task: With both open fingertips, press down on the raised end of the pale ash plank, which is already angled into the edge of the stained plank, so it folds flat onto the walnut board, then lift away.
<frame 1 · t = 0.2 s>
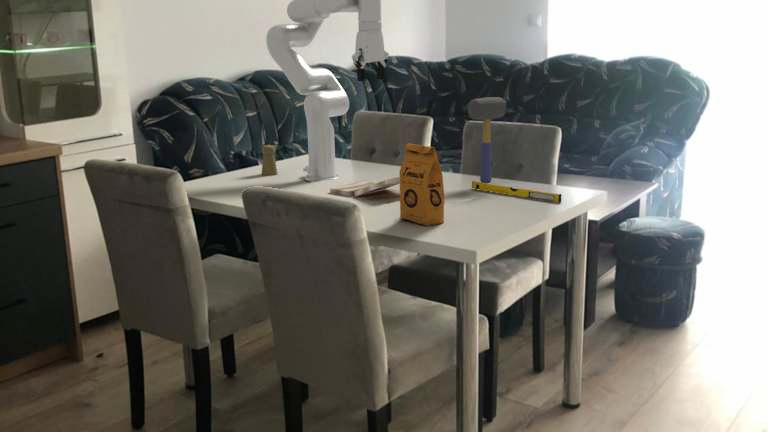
hand: (371, 80, 274), 37 cm above the table, tool pointing down, fingers open, 9 cm apart
rubber mallet: (485, 184, 286), on the table
ash plank: (385, 184, 264), point 5 cm above the table, hinge at 22.0°
spirit level: (514, 197, 267), on the table
coffee package: (422, 222, 234), on the table
cork: (269, 174, 309), on the table
floor board: (374, 196, 268), on the table
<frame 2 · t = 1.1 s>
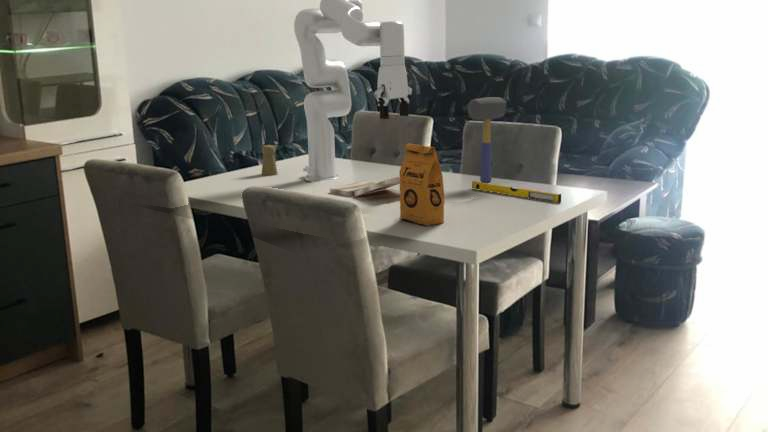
hand: (394, 117, 259), 26 cm above the table, tool pointing down, fingers open, 9 cm apart
nothing on the table moved.
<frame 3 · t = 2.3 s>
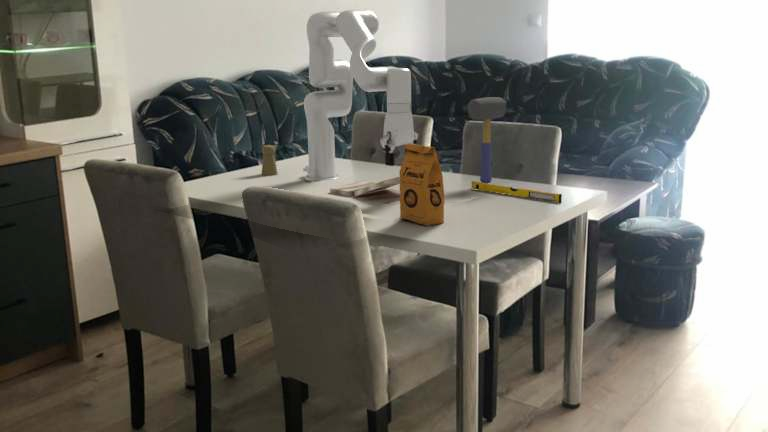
hand: (399, 163, 258), 12 cm above the table, tool pointing down, fingers open, 9 cm apart
nothing on the table moved.
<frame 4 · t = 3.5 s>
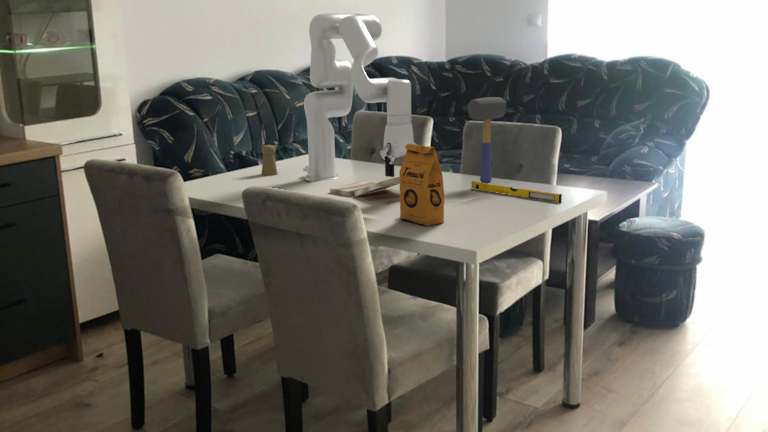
hand: (399, 174, 259), 9 cm above the table, tool pointing down, fingers open, 9 cm apart
nothing on the table moved.
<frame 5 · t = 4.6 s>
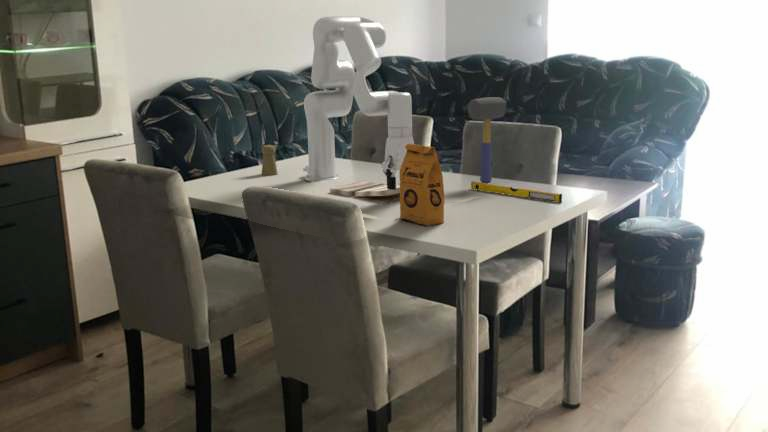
hand: (401, 186, 259), 5 cm above the table, tool pointing down, fingers open, 9 cm apart
ash plank: (386, 189, 264), point 3 cm above the table, hinge at 8.4°, touching gripper
everything else where it was.
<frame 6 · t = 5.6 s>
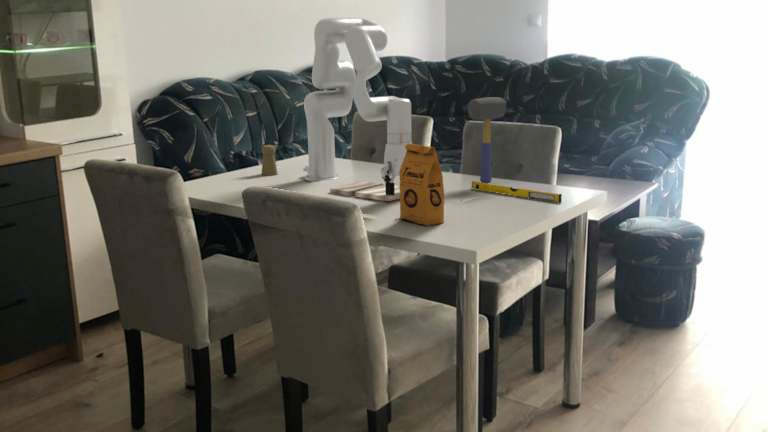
hand: (400, 192, 260), 3 cm above the table, tool pointing down
ash plank: (387, 192, 264), point 2 cm above the table, hinge at 1.1°, touching gripper
everything else where it was.
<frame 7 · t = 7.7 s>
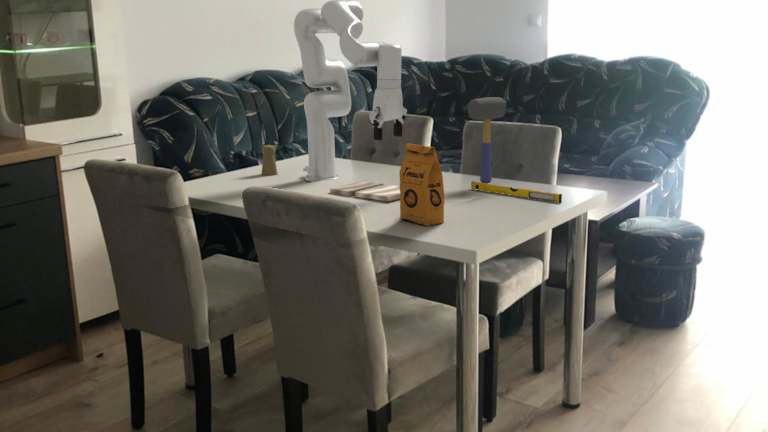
hand: (388, 138, 263), 19 cm above the table, tool pointing down, fingers open, 9 cm apart
ash plank: (387, 192, 264), point 2 cm above the table, hinge at 1.1°
everything else where it was.
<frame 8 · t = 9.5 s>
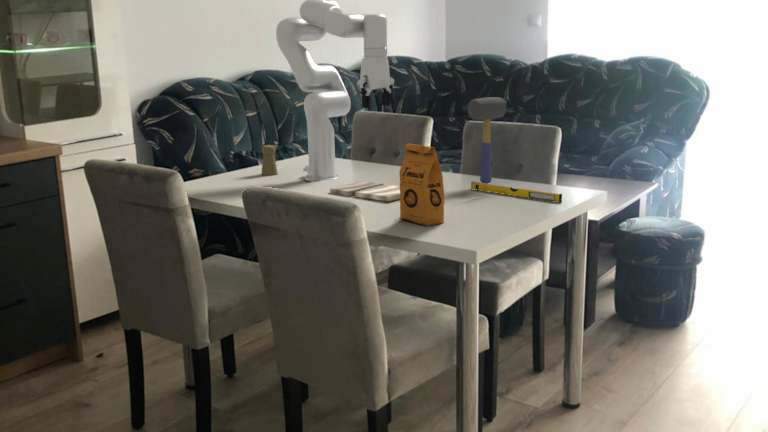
hand: (376, 106, 270), 28 cm above the table, tool pointing down, fingers open, 9 cm apart
nothing on the table moved.
at the end: ash plank at +1° (first picture: +22°); the gripper is holding nothing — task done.
